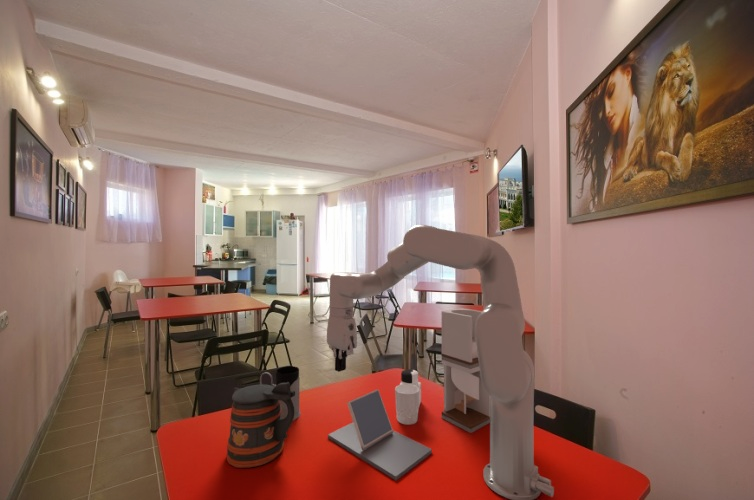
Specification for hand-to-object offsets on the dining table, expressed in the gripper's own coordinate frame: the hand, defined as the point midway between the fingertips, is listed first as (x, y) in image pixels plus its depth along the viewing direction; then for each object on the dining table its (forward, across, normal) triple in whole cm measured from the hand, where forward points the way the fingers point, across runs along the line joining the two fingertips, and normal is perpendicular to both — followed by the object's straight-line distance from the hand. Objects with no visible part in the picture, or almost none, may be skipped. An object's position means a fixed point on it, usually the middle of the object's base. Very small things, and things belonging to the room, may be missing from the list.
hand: (340, 369), depth 103 cm
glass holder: (+18, +19, +10) cm, 28 cm away
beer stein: (+18, +3, +24) cm, 30 cm away
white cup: (+17, -14, -17) cm, 28 cm away
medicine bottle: (+17, -8, -26) cm, 32 cm away
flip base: (+17, -17, 0) cm, 24 cm away
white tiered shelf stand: (+17, -28, -30) cm, 44 cm away
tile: (+10, -13, 0) cm, 17 cm away
